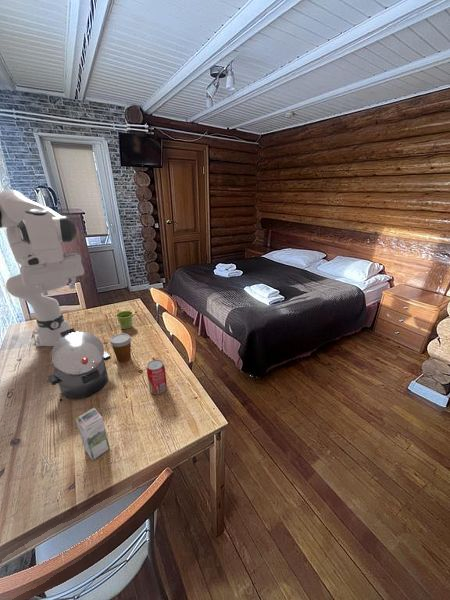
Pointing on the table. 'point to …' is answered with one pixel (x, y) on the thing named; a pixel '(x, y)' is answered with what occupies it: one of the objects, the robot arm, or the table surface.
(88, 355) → the cooker lid
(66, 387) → the cooker pot
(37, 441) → the table surface
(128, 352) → the disposable coffee cup
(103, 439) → the syrup box
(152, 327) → the table surface
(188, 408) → the table surface
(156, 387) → the soda can
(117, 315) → the plant pot
